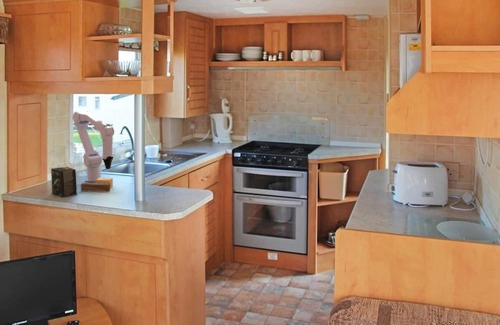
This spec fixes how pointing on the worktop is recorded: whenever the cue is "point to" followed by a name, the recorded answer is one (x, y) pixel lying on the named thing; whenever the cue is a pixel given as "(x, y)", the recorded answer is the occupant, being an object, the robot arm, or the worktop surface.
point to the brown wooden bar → (95, 187)
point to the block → (105, 181)
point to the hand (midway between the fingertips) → (108, 168)
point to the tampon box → (63, 181)
